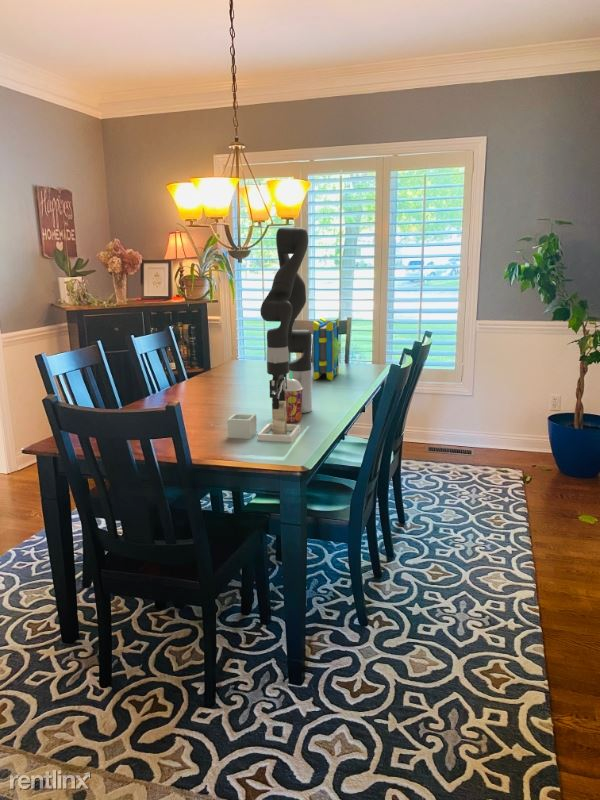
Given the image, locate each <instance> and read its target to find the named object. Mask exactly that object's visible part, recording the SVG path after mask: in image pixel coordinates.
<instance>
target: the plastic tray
mask: <svg viewBox="0 0 600 800" xmlns="http://www.w3.org/2000/svg"><path fill="white" fill-rule="evenodd" d="M301 425H302V424H294V423H290V424H288V423H286V428H287V431H291V432H290V434H286V435H277V434H273V433H269V432H270V431H273V423H267V424H266V425H265V426H264V427H263V428H262V429H261V430H260V431H259V432H258V433H256V434H257V437H256V438H257V441H267V442H269V441H270V442H287V443H292V442H293V441H294V440H295V438H296V437H297V436H298V435H299V433H300V432H301V431H302V429H301V428H302V426H301Z"/></svg>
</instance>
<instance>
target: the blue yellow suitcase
mask: <svg viewBox="0 0 600 800" xmlns="http://www.w3.org/2000/svg"><path fill="white" fill-rule="evenodd" d="M312 324H313V325H312V326H313V327H312V331H313V350H312V351H313V381H316V380H317V379H319V378H321V376H322V375H323V374H326V379H327V380H329V381H331V382H332V381H333V380H334V376H336V375H339V374H340V365H339V362H340V361H339V357H340V356H339V355H340V354H341V342H340V339H339V337H340V336H339V333H340V332H339V331H340V327H339V326H340V317H339V318H336V319H334V320H332V321H330V322H328V323H327V319H325V318H324V317H320V318H319V320H318V321H317V320H314V321H313V322H312Z"/></svg>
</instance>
